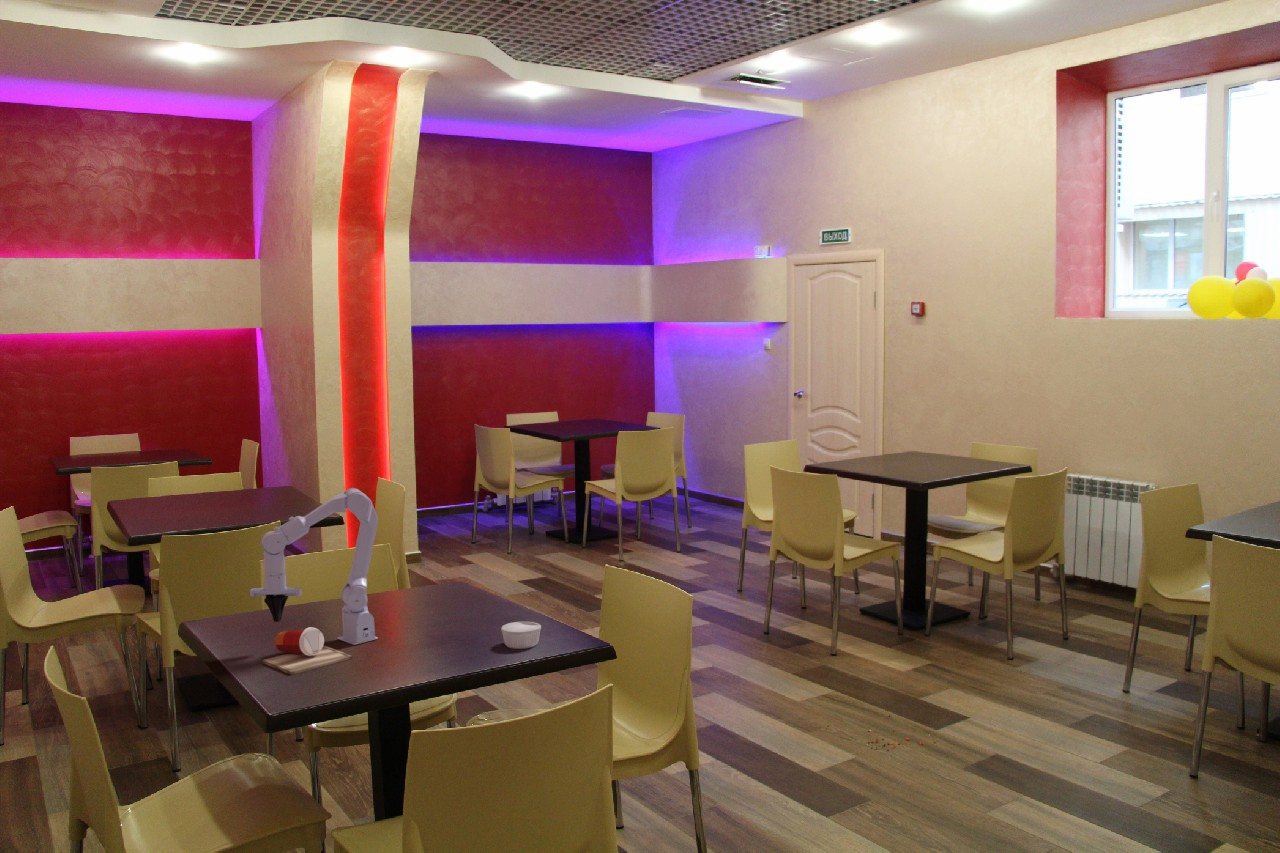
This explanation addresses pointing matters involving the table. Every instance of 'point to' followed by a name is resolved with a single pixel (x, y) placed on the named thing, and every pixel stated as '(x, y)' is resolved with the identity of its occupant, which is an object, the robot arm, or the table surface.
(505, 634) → the ramekin
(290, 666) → the birch board
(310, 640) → the paper cup
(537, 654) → the table surface
